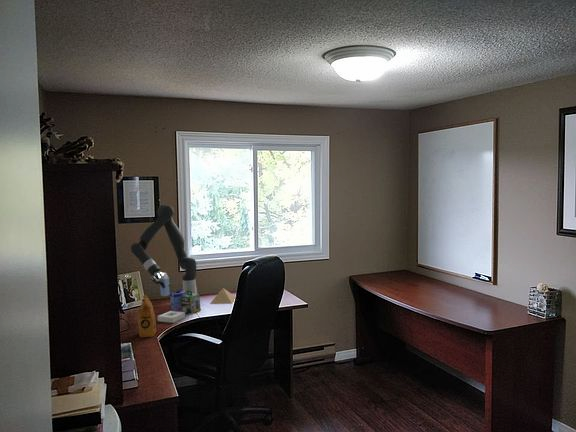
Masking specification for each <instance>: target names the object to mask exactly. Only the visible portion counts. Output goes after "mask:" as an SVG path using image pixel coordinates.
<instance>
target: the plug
mask: <svg viewBox="0 0 576 432" xmlns="http://www.w3.org/2000/svg"><path fill="white" fill-rule="evenodd" d="M167 275H168V274H167ZM167 275H162V276H161V280H162V282H163V283H164V284H165V286H166V287H165V288H162V286H161V285H160V284H159V285H160V286H159V289H160V296H161V297H167V296H170V294H171V292H170V286H169V283H170V277H169V278H167Z"/></svg>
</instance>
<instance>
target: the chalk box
mask: <svg viewBox="0 0 576 432" xmlns="http://www.w3.org/2000/svg"><path fill="white" fill-rule="evenodd" d="M186 291H187V294H186V295H183V296H181V305H182V310H181V312H185V314H188V315H189V314H190V315H193V314H195V313H197V312H200V311H201V300H200V299H201V297H200V296H201V295H200V294H199V293H197V294H194V293H192V292H191V291H189V290H186ZM188 292H190V294H189V293H188Z"/></svg>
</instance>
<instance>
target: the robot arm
mask: <svg viewBox="0 0 576 432" xmlns="http://www.w3.org/2000/svg"><path fill="white" fill-rule="evenodd" d="M174 213H175V211H174V208H173V207H172V206H170V205H166V204H161V205H159V206H158V207H157V216H158V217H157V219H156V220H155V221H154V222H153V223H151V224H150V225H149V226H148V227H147V228H146V229H145V230H144V231H143V233H142V234H141V235H140V237H139V242H138V243H137V242H134V243H133V244H131V245H130V250H131V253H132V254H133V255H134V257H136V258H137V259H138V261H139V263H141V265H142V266H143V267H144V269H145V270H146V272H147V273H148V274H149V276H151V277H150V278H149V279H150V281H152V282H153V283H154V284H155V285H161V286H162V288H165V287H166V286H165V284H164V283H163V282H162V280H161V276H162V275H167V278H169V279H170V277H169V276H168V273H167V272H163V271H162V270H161V267H160V266H159V265H158V264H157V262H156V261H155V260H154V259H153V258H152V257H151V255H149V254H148V252H146V250H147V248H148V245H149V243H151V241H152V240H153V238H154V237H155V236H156V234H157V233H158V232H159V231H160V230H161V228H162V227H163V226H164V229H165V231H166V234H167V236H168V240H169V241H170V243H171V245H172V248H173V250H174V253H175V255H176V258H177V261H178V264H179V267H180V269H182V270H185V274H184V275H182V289H183V290H182V291H184V292H186V294H187V291H186V290H189V291H191V292H192V293H194V294H198V288H197V282H196V281H197V279H196V277H197V261H196V260H195V258H193V257H188V255H187V253H186V251H185V238H184V236H183V234H182V232H181V230H180V228H179V227H178V226H177V224H176V223H175V221H174V219H173V216H174ZM170 286H171V283H170V282H169V287H170ZM188 293H189V294H190V292H188Z"/></svg>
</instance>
